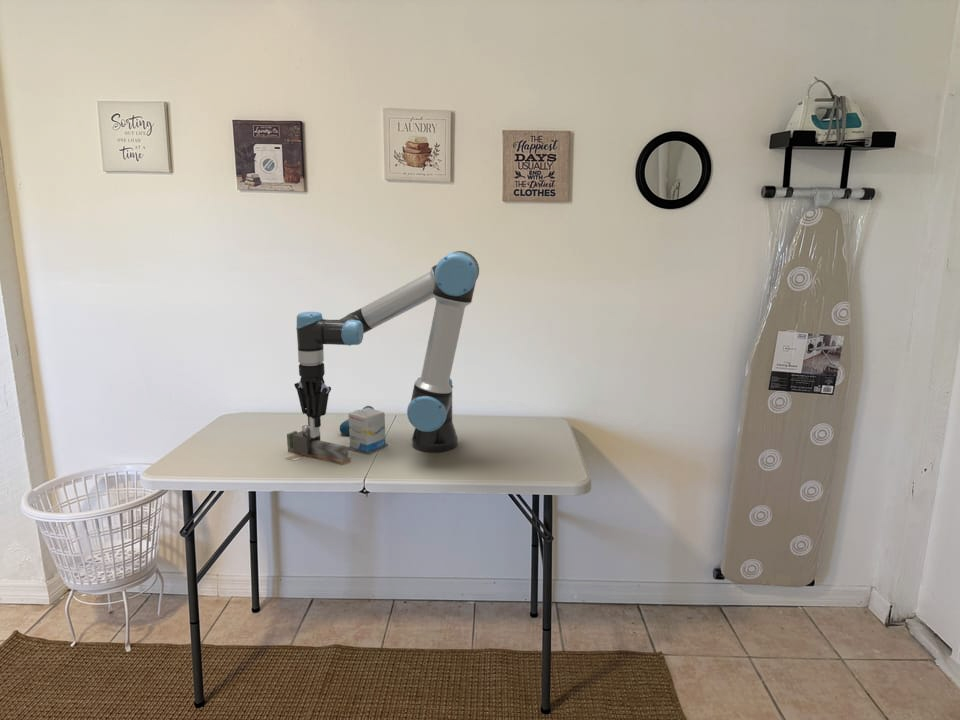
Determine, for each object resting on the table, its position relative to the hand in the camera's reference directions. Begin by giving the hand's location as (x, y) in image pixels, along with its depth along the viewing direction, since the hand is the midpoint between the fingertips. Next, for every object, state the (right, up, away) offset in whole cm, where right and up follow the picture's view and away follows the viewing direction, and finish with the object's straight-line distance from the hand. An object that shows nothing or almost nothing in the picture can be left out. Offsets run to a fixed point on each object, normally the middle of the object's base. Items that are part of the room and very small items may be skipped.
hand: (315, 436), depth 192 cm
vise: (0, -7, -1) cm, 7 cm away
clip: (-3, -5, +3) cm, 6 cm away
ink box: (+15, -5, +9) cm, 18 cm away
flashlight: (+7, -1, +29) cm, 30 cm away
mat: (+15, -5, +9) cm, 18 cm away
